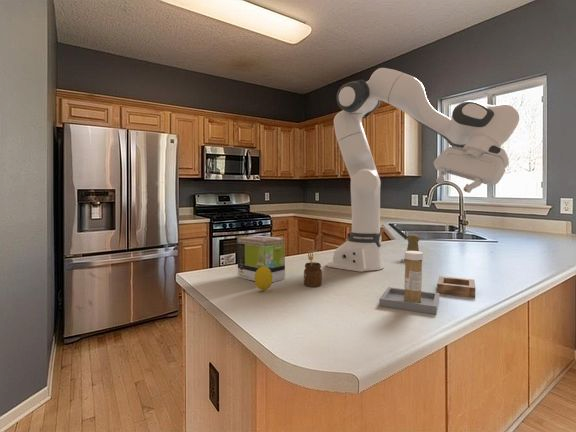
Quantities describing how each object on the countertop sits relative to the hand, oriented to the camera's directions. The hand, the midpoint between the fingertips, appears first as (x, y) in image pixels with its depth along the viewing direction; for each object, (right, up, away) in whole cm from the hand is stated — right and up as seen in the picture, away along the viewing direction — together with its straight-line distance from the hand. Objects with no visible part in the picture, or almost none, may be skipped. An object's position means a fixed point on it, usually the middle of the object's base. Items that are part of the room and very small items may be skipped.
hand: (451, 186), depth 102 cm
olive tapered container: (+6, -28, +49) cm, 57 cm away
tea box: (-60, -31, +18) cm, 70 cm away
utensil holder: (-42, -32, +8) cm, 53 cm away
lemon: (-58, -33, +2) cm, 66 cm away
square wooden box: (+1, -32, +1) cm, 32 cm away
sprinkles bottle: (-16, -32, -11) cm, 38 cm away
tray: (-17, -33, -10) cm, 38 cm away
